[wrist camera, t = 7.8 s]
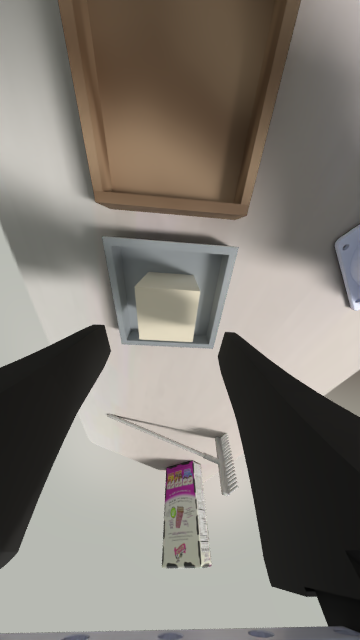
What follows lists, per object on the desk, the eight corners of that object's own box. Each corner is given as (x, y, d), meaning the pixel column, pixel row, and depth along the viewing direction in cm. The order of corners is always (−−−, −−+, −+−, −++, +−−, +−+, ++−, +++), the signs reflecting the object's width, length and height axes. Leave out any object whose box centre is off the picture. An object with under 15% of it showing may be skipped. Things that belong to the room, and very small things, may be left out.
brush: (124, 385, 32) (97, 429, 23) (227, 431, 34) (238, 488, 25) (119, 396, 33) (92, 441, 24) (218, 439, 35) (227, 496, 26)
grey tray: (209, 336, 18) (213, 348, 16) (128, 332, 18) (121, 344, 16) (229, 246, 13) (238, 247, 11) (114, 236, 13) (101, 236, 11)
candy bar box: (175, 470, 48) (173, 567, 34) (165, 467, 46) (160, 568, 32) (202, 464, 45) (212, 568, 30) (193, 459, 43) (200, 569, 28)
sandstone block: (188, 314, 16) (192, 342, 12) (150, 312, 16) (139, 339, 12) (193, 275, 14) (200, 291, 9) (148, 271, 14) (134, 286, 9)
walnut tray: (234, 219, 12) (246, 215, 10) (110, 208, 12) (95, 202, 9) (294, -53, 7) (347, -186, 5) (66, -93, 6) (9, -260, 4)
